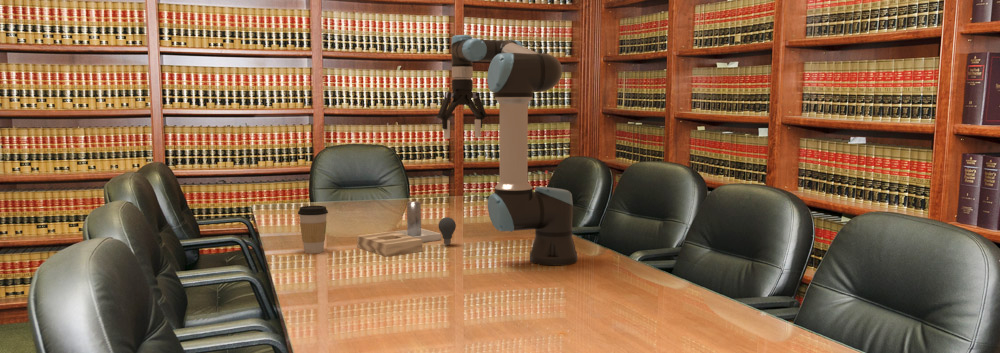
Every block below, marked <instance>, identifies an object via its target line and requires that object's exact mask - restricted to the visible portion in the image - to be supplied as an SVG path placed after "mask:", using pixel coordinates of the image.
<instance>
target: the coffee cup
mask: <svg viewBox="0 0 1000 353" xmlns="http://www.w3.org/2000/svg"><path fill="white" fill-rule="evenodd" d="M328 213H329V210H328V209H327V206H325V205H304V206H300V207H299V210H298V212H297V214H298V216H299V226H300V233H301V239H302V243H303V244H302V245H303V249H304V251H303V252H304V253H305V254H320V253H323V252H324V250H325V249H324V248H325V240H326V232H327V216H328V215H327V214H328Z"/></svg>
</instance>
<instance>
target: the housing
mask: <svg viewBox="0 0 1000 353" xmlns="http://www.w3.org/2000/svg"><path fill="white" fill-rule="evenodd" d="M356 245H357V246H356V247H357V248H359V249H362V250H363V251H364V250H365V251H368V252H371V253H373V254H374V253H375V254H377V255H380V256H383V257H385V258H387V257H392V256H393V257H394V256H399V255H400V256H401V255H406V254H413V253H412V252H414V253H419V251H421V252H423V243H422V239H419V238H415V237H411V236H408V235H404V234H401V233H397V232H395V231H393V230H392V231H385V232H384V231H383V232H375V233H369V234H360V235H356Z"/></svg>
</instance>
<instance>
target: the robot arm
mask: <svg viewBox="0 0 1000 353" xmlns="http://www.w3.org/2000/svg"><path fill="white" fill-rule="evenodd" d="M450 48H451V78H452V80H451V89H452V92H451V91H450V92H449V91H448V92H445V93H444V97H443V101H442V102H441V106H440V107H439V110H438V113H437V115H436V118H437V119H440V121H441V126H442V127H441V128H442V130H443V139H448V140H449V139H451V125H450V124H451V122H450V120H449V119H450V117H451V116H452V115H453V112H454V111H455V110H456V108H457V107H458V106H465V105H466V106H467V107H468V108H469V110H470V111H471V112H472V114H473V115H474V117H475V119H474V138H481V137H482V133H481V132H482V131H481V130H482V128H483V120H484V119H486V118H487V117H488V115H487V112H486V110H485V107H484V104H483V103H482V99H481V96H480V92H477V91H476V92H473V88H474V82H473V81H474V80H473V75H474V71H473V68H474V67H473V64H474V63H473V62H490V64H489V67H488V71H487V77H486V78H487V80H486V81H487V82H486V84H487V86H488V87H487V88H488V90H489V91H490V92H491V93H493V94H494V99H495V100H496V101H497V102H498V104H499V182H498V183H497V184H496V185H495V186H494V193H492V194H490V195H489V196H488V200H487V212H488V217H489V218H490V222H491V224H492V226H493V227H494V228H495V230H497V231H498V232H499V231H500V232H509V233H510V232H511V233H512V232H515V231H518V232H519V231H528V230H529V231H530V230H535V231H534V232H535V233H534V234H535V235H534V240H533V242H532V247H531V251H530V252H529V261H530V262H531V263H534V264H537V265H543V266H545V265H546V266H565V265H572V264H576V263H577V262H578V252H577V250H576V249H577V248H576V245H575V242H574V239H573V206H574V204H573V194H572V193H571V191H570V190H567V189H563V188H556V187H548V186H536V187H535V189H534V191H533V186H532V185H531V184H530V183H529V181H528V175H529V174H528V170H529V169H528V168H529V167H528V158H529V157H528V156H529V155H528V146H529V145H528V144H529V143H528V138H529V137H528V136H529V134H528V133H529V131H528V130H529V129H528V128H529V127H528V124H529V123H528V118H529V116H528V115H529V114H528V113H529V112H528V108H529V102H530V101H532V100H533V96H534V95H533V94H534V93H542V92H546V91H549V90H552V89H553V88H554V87H555V86H557V85H558V84H559V83H560V80H561V78H562V74H563V66H562V64H561V62H560V61H559V59H558V58H556V57H555V55H553V54H549V53H546V52H540V53H539V52H536V51H534V50H531V49H530V48H526V47H524V46H523V44H522V42H521V41H520V40H514V39H509V40H508V39H507V40H506V39H504V40H503V39H480V38H473V37H472V35H469V34H468V35H467V34H456V35H453V36H452V37H451V45H450ZM472 98H473V99H472Z"/></svg>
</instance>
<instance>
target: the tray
mask: <svg viewBox="0 0 1000 353" xmlns="http://www.w3.org/2000/svg"><path fill="white" fill-rule="evenodd" d="M394 232H397V233H401V234H404V235H408V234H407V229H405V230H403V229H402V230H396V231H395V230H394ZM415 238H419V239H422V244H424V243H430V241H431V242H438V241H442V233H441V232H436V231H432V230H428V229H425V228H421V236H415ZM437 240H438V241H437ZM423 242H424V243H423Z"/></svg>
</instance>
